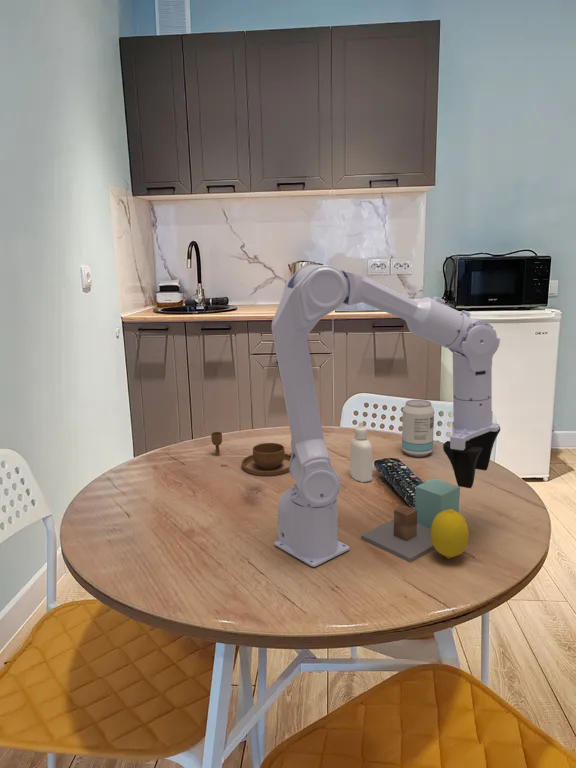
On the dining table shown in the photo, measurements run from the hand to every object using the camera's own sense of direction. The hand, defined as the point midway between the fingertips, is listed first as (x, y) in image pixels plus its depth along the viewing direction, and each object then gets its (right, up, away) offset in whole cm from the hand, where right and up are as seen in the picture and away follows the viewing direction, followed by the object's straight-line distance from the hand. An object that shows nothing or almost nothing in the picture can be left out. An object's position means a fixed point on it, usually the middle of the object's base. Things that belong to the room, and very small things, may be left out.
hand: (473, 477), depth 93 cm
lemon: (-5, -12, -5) cm, 14 cm away
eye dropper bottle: (-15, -4, +26) cm, 31 cm away
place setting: (-36, -3, +38) cm, 52 cm away
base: (-11, -10, +1) cm, 15 cm away
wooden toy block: (-11, -10, +1) cm, 15 cm away
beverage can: (0, -1, +40) cm, 40 cm away
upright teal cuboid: (-4, -9, +6) cm, 11 cm away
